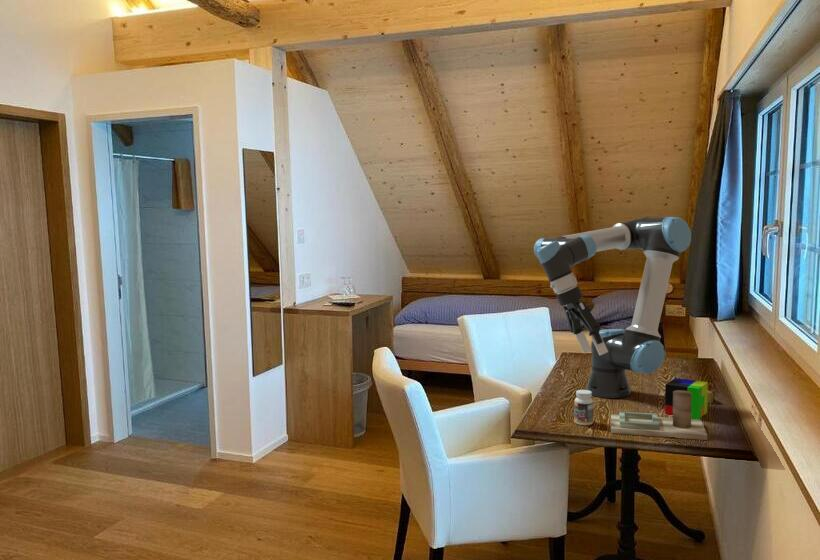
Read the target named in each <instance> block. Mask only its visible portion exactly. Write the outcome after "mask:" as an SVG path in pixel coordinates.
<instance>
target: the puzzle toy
mask: <svg viewBox="0 0 820 560" xmlns="http://www.w3.org/2000/svg"><path fill="white" fill-rule="evenodd" d="M708 383H709V382H708V381H701V380H694V379H687V378H679V377H674V378H673V379H672V380H669V382H667V383H665V387H664V388H665V389H664V390H665V394H664V395H665V397H664V398H665V399H664V400H665V401H664V403H665V404H664V405H665V407H664V415H665V414H668V415H667V416H669V415H673V391H676V390H684V391H689V392H691V393H692V399H691V419H696V420H701V419H702V418H703V417H704V416H703V415H706V414H708V403H707V394H708V390H709V388H708V385H709V384H708ZM702 416H703V417H702Z"/></svg>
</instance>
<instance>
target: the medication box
mask: <svg viewBox="0 0 820 560" xmlns="http://www.w3.org/2000/svg"><path fill="white" fill-rule="evenodd" d="M713 395H714V393H713V392H712V391H710V390H709V389H708V394H707V404H714V401H713V399H714V398H713V397H714V396H713Z"/></svg>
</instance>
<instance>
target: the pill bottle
mask: <svg viewBox="0 0 820 560" xmlns="http://www.w3.org/2000/svg"><path fill="white" fill-rule="evenodd" d="M575 395H576V397H575V399H574V401H573V402H574V411H573V412H574V413H573V414H574V415H573V421H574V423H575V424H576V425H579V426H580V425H581V426H590V425H592V424H593V423H594V400H593V399H592V396H593V395H592V392H591V391H589V390H587V389H578V390H576V391H575Z"/></svg>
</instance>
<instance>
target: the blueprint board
mask: <svg viewBox="0 0 820 560" xmlns="http://www.w3.org/2000/svg"><path fill="white" fill-rule="evenodd" d="M691 399H692V393H691V392H689V391H684V390H676V391H673V416H672V417H662V416H661V417H660V416H658V413H650V412H633V411H619V412H618V414H615V413H611V414H610V434H616V435H617V434H618V435H630V436H632V435H633V436H643V435H644V436H645V437H646V436H647V437H657V438H671V437H675V438H676V439H686V440H687V439H690V440H699V441H702V440H703V441H708V433H707V431H706V429H705V427H704V424H703V422H702V419H699V420H695V419H691ZM644 436H643V437H644ZM675 438H674V439H675Z"/></svg>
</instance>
